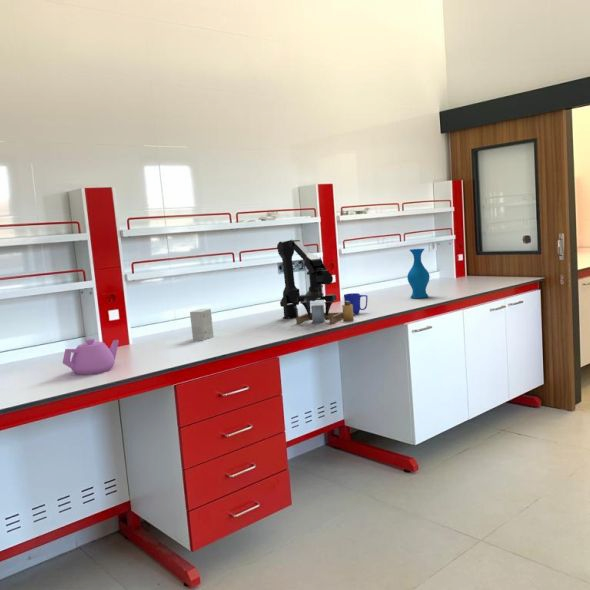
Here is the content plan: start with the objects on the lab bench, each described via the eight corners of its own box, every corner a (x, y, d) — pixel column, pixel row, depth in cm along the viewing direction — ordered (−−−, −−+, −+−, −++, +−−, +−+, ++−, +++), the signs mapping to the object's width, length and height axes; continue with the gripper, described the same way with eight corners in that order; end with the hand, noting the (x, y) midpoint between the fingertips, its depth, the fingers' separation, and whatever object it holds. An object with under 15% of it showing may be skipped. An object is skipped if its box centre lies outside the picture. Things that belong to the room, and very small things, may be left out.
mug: (367, 314, 308) (366, 294, 307) (344, 315, 311) (342, 295, 310) (369, 311, 316) (367, 292, 315) (346, 312, 319) (344, 293, 318)
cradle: (296, 323, 297) (296, 317, 296) (308, 318, 309) (308, 312, 309) (332, 323, 288) (332, 317, 288) (343, 318, 301) (343, 312, 301)
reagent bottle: (341, 321, 293) (340, 302, 292) (345, 319, 298) (344, 300, 297) (351, 321, 291) (350, 302, 290) (355, 319, 296) (353, 300, 294)
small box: (202, 336, 282) (199, 308, 280) (213, 336, 279) (211, 308, 278) (192, 340, 274) (189, 311, 273) (204, 340, 272) (201, 311, 270)
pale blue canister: (310, 322, 296) (309, 306, 295) (317, 319, 303) (316, 303, 302) (321, 322, 293) (320, 306, 292) (328, 319, 301) (327, 303, 300)
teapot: (74, 380, 215) (70, 346, 214) (56, 374, 226) (52, 342, 225) (130, 366, 230) (127, 335, 229) (111, 361, 241) (107, 332, 240)
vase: (426, 299, 345) (423, 249, 342) (405, 299, 352) (402, 250, 348) (433, 296, 355) (431, 248, 352) (412, 296, 362) (410, 248, 358)
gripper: (291, 286, 292) (293, 318, 294) (327, 285, 284) (329, 318, 285) (301, 283, 302) (303, 314, 304) (336, 282, 294) (338, 314, 295)
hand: (318, 315), depth 297 cm, fingers open, 9 cm apart
